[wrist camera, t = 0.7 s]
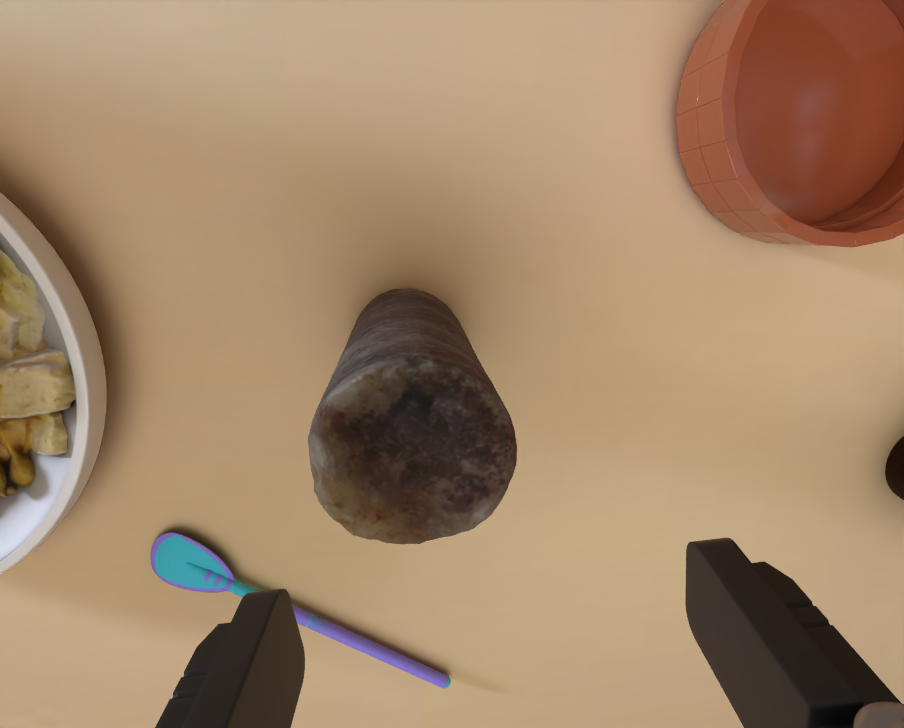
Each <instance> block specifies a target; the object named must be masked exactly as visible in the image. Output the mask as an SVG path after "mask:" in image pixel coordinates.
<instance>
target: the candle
mask: <svg viewBox="0 0 904 728" xmlns="http://www.w3.org/2000/svg"><path fill="white" fill-rule="evenodd" d="M308 445H309V456H310V464H311V471H312V474H313V478H314V492H315V493H316V495H317V497H318V500H319V502H320V504H321V505H322V506H323V508H324V509H325V511H326V512H327V513H328V514H329V515H330V516H331V517H332V518H333V519H334V520H336V521H337V522H339V523H340V524H341V525H342V526H343V527H344V528H345V529H346V530H347V531H348V532H350V533H351V534H352V535H355V536H359V537H362V538H366V539H375V540H379V541H382V542H386V543H394V544H420V543H423V542H425V541H428V540H433V539H437V538H441V537H447V536H452V535H456V534H458V533H461V532H464V531H469V530H471V529H473V528H475V527H476V526H477V525H478V524H479V523H481V522H482V521H484V520H485V519H487V518H488V517H489V516H490V515H491V514H492V513H493V512H494V510H495V509H496V507H497V506H498V504H499V503H500V501H501V500H502V498H503V496H504V494H505V492H506V490H507V488H508V485H509V482H510V480H511V478H512V476H513V473H514V469H515V466H516V461H517V445H516V438H515V431H514V427H513V424H512V420H511V418H510V415H509V413H508V411H507V409H506V407H505V406H504V404H503V402H502V400H501V398H500V397H499V395H498V393H497V391H496V389H495V388H494V386H493V384H492V382H491V380H490V379H489V377H488V376H487V374H486V372H485V371H484V369H483V367H482V365H481V363H480V362H479V360H478V358H477V356H476V354H475V352H474V350H473V349H472V346H471V344H470V342H469V340H468V338H467V336H466V334H465V332H464V330H463V328H462V327H461V325H460V323H459V321H458V320H457V318H456V317H455V315H454V314H453V312H452V311H451V310H450V309H449V308H448V307H447V306H446V305H445V304H444V303H443V302H442V301H440V300H439V299H437V298H436V297H434V296H432V295H430V294H428V293H425V292H422V291H418V290H412V289H396V290H391V291H388V292H386V293H384V294H381V295H379V296H377V297H376V298H375V299H374V300H372V301H371V302H370V303H369V304H368V305H367V306H366V307H365V308H364V310H363V311H362V312H361V314H360V315H359V317H358V319H357V321H356V323H355V326H354V328H353V330H352V332H351V335H350V337H349V340H348V343H347V345H346V347H345V350H344V352H343V354H342V355H341V358H340V360H339V362H338V365H337V367H336V369H335V371H334V373H333V375H332V378H331V380H330V382H329V385H328V387H327V389H326V391H325V393H324V395H323V397H322V400H321V402H320V404H319V406H318V408H317V411H316V413H315V415H314V418H313V421H312V425H311V429H310V433H309V436H308Z"/></svg>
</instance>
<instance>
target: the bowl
mask: <svg viewBox="0 0 904 728" xmlns="http://www.w3.org/2000/svg"><path fill="white" fill-rule="evenodd" d="M106 404H107V390H106V376H105V367H104V361H103V356H102V351H101V347H100V343H99V339H98V335H97V332H96V329H95V326H94V323H93V320H92V318H91V315H90V313H89V310H88V308H87V305H86V303H85V301H84V299H83V297H82V295H81V293H80V290H79V289H78V287H77V285H76V283H75V281H74V280H73V278H72V276H71V274H70V273H69V271H68V269H67V268H66V266H65V265H64V263H63V262H62V260H61V259H60V257H59V256H58V254H57V253H56V252H55V250H54V249H53V247H52V246H51V245H50V244H49V242H48V241H47V240H46V239H45V237H44V236H43V235H42V234H41V232H40V231H39V230H38V229H37V228H36V227H35V226H34V224H33V223H32V222H31V221H30V220H29V219H28V218H27V217H26V216H25V215H24V214H23V213H22V212H21V211H20V210H19V209H18V208H17V207H16V206H15V205H14V204H13V203H12V202H11V201H10V200H8V199H7V198H6V197H5V196H4V195H3V194H2V193H1V192H0V575H1V574H2V573H4V572H5V571H7V570H9V569H10V568H11V567H13V566H14V565H15V564H17V563H18V562H20V561H21V560H22V559H23V558H24V557H25V556H27V555H28V554H29V553H30V552H31V551H33V550H34V549H35V548H36V547H37V546H39V545H40V544H41V543H42V542H43V541H44V540H45V539H46V538H47V537H48V536H49V535H50V534H51V533H52V532H53V531H54V530H55V528H56V527H57V526H58V525H59V524H60V523H61V522H62V520H63V519H64V518H65V516H66V515H67V514H68V512H69V511H70V510H71V508H72V507H73V505H74V504H75V502H76V501H77V499H78V498H79V496H80V494H81V493H82V491H83V489H84V487H85V485H86V483H87V481H88V479H89V477H90V474H91V472H92V470H93V467H94V465H95V462H96V459H97V456H98V453H99V450H100V446H101V442H102V437H103V432H104V426H105V418H106Z"/></svg>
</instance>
